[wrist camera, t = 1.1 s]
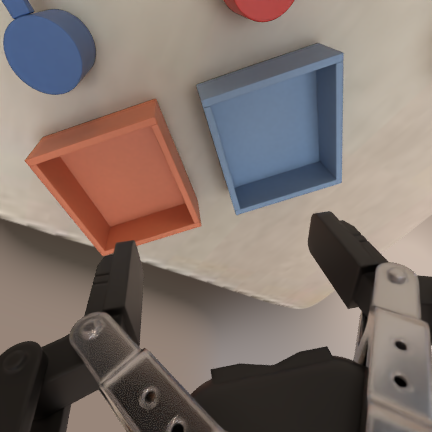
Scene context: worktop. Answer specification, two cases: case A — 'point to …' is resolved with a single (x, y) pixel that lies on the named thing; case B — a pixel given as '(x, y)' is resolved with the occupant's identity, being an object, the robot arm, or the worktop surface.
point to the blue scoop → (47, 47)
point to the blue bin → (278, 126)
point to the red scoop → (259, 8)
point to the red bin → (119, 177)
